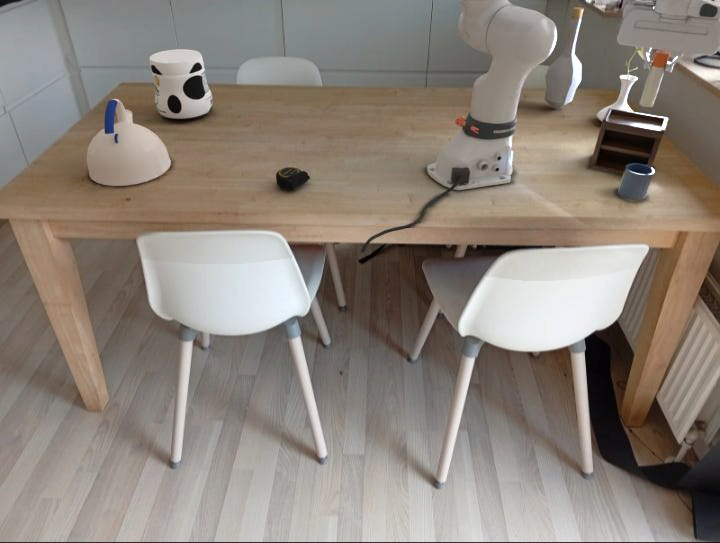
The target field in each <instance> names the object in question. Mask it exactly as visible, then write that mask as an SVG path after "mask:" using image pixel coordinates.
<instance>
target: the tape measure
mask: <svg viewBox="0 0 720 543" xmlns="http://www.w3.org/2000/svg"><path fill="white" fill-rule="evenodd" d="M309 180H310V175H309V174H308V172H307V171H305V170H301V169H300V168H299V167H298V168H297V167H293V166H288V167H282V168H281V169H279V170H278V171H277V172H276V174H275V181H276V186H278V187H279V188H280V189H281V190H287V191H294V190H296V189H297V188H299V187H300V186H302V185H304V184H306V183H308V182H309Z"/></svg>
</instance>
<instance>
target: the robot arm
mask: <svg viewBox="0 0 720 543" xmlns="http://www.w3.org/2000/svg"><path fill="white" fill-rule="evenodd" d="M459 3H460V7H461V10H462V12H460V16H459V18H458V23H457V24H458V25H457V30H458V31H457V32H458V35H459V38H461V40H462V41H463V42H464V43H465V44H467V45H468V46H469V47H471V48H472V49H474V50H475V51H478V52H481V53H483V54H486V55H489V56H491V58H492V59H491V64H490V67H489V69H488V70H487V72H486V73H484V74H482V75H479V77H478V78H477V79H476V80H475V81H474V83H473V86H472V93H471V102H470V108H469V109H470V110H469V112H468V113H467V115H466V118H463V117H461V116H457V117H456V118H455V119H454V124H455V125H457V126H459V128H461V130H460V131H459V132H458V133H456V134H455V135H453V137H452V138H451V139H449V141H447V142H446V143H445V144H444V145H443V146H442V147H440V149H439V151H438V154H437V157H436V161H435V162H432V163H430V164H427V167H426V172H427V174H428V175H429V176H430V178H431V179H433V180H434V181H436V182H437V183H438V184H440V185H441V186H444V187H446V188H448V189H445V191H444V192H442V193H441V194H439V195H438V196H436V197H434V198H433V199H431V200H430V201H429V202H427V203H426V205H425V206H424V207H423V209H422V210H421V213H420V215H419V216H418V218H417V219H415V221H412V222H411V223H408V224H405V225H401V226H396V227H392V228H387V229H384V230H382V231H380V232H378V233H376V234H374V235H372V236H370V237H369V238H368V239H367V240H366V241H365V243H364V245H362V248H361V249H360V253H365V251H366V250H367V248H368V246H369V244H370V243H371V242H373V241H374V240H376V239H377V238H379V237H382V236H384V235H386V234H389V233H391V232H397V231H402V230H406V229H409V228H412V227H414V226H416V225H417V224H419V223H420V222H421V221H422V220H423V218H424V216H425V213H426V212H427V209H429V207H430V206H431V205H432V204H434V203H435V202H437V201H438V200H440V199H441V198H443V197H445V196H446V195H448V194H449V193H450V192H452V191H453V190H456V191H464V190H470V189H476V188H477V189H478V188H485V187H490V186H497V185H504V184H509V183H510V182H511V180H512V179H511V178H512V176H511V175H512V174H513V171H514V169H513V155H514V151H513V136H514V134H515V133H516V128H517V122H518V117H517V112H518V106H519V101H520V97H521V93H522V90H523V86H524V84H525V81H526V79H527V78H528V76H529V74H531V72H532V71H533V69H534V68H536V67H537V66H539V65H540V64H542V63H544V62H545V61H547V59H548V58H549V57H550V56H551V55H552V53H553V51H554V49H555V46H556V44H557V40H558V28H557V26H556V23H555V22H554V21H553V19H551V18H549V17H548V16H546V15H545V14H543V13H541V12H539V11H537V10H535V9H530V8H526V7H522V6H518V5H515V4H513V3H512V2H510V1H509V0H459ZM621 18H622V23H621V25H620V28H619V31H618V34H617V37H616V42H617V43H618V45H621V46H628V47H635V48H636V47H644V49H643V52H642V53H643V56H644V59H643V60H644V64H643V68H642V70H643V69H644V70H650V68H651V65H652V62H653V59H650V55H648V53H650V52H651V50H652V49H653V50H665V51H669V52H675V56H674V57H675V58H673V59H672V61H668V62H667V64H666V68H665V70H664V73H665V72H666V73H672V72H673V68H674V66H675V65H676V64H677V63H678V62H679V61H680V60H681V59H682V58H683V56H684V53H685V54H692V55H693V54H694V55H701V56H708V57H709V56H710V57H711V56H714V55H715V54H717V52H718V50H719V48H720V0H631V1H628V2H627V3H626V4H625V5H624V7H623V10H622V13H621Z"/></svg>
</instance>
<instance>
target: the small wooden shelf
mask: <svg viewBox="0 0 720 543" xmlns="http://www.w3.org/2000/svg"><path fill="white" fill-rule="evenodd" d="M668 121H669V117H667V116H661V115H653V114H648V113H643V112H635V111H633V112H630V111H624V110H618V109H612V108H609V109H608V111H607V113H606V115H605V116H604V118H603V121H601V125H600V129H599V132H598V135H597V139H596V143H595V146H594V150H593V153H592V157H591V160H590V164H589V167H593V168H596V169H601V170H607V171H610V172H616V173H621V174H623V173H624V170H625V167H626V165H627V164H631V163H639V164H644V165H648V166H650V167H652V168H653V165H654V162H655V159H656V157H657V154H658V151H659V147H660V145H661V143H662V139H663V137H664V133H665V131H666V127H667V125H668Z"/></svg>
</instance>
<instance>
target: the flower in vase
mask: <svg viewBox="0 0 720 543" xmlns="http://www.w3.org/2000/svg"><path fill="white" fill-rule="evenodd" d="M635 49H636V50H635V51H634V53H633V54H632V56H631V57H630V59H629V61H627V60H626V61H625V63H624V66H626V68H627V72H626V73H627V74H621V75H619V79H620V84H621V86H620V92H619V95H618V98H617V100H616V101H615V102H614V103H612V104H610V105H608V106H605V107H604V108H602V109H601V110H599V112H597V115H596V117H597V119H598V120H599V121H600V122H602V121H603V118H604V116H605V115H606V113H607V111H608V109H609V108H612V109H618V110H624V111H630V112H634V110H632V109H631V107H630V106H629V104H628V101H627V100H628V97H629V96H628V95H629V93H630V90H631V88H632V86H633V85H634V83H636V81H638V79H639V78H638V77H637V76H636V75H633V74H632V75H631V74H630V72H632V71H634V70H638V69H639V68H638V66H636V67H635V68H633V69H630V64H631V61H632V60H633V58H634V56H635V55H636V53H638V55H639V57H640V58H641V59H642V60H644V56H643V53H642V52H643V49H644V47H635ZM648 55H649V56H651V53H650V52H649V53H648Z"/></svg>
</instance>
